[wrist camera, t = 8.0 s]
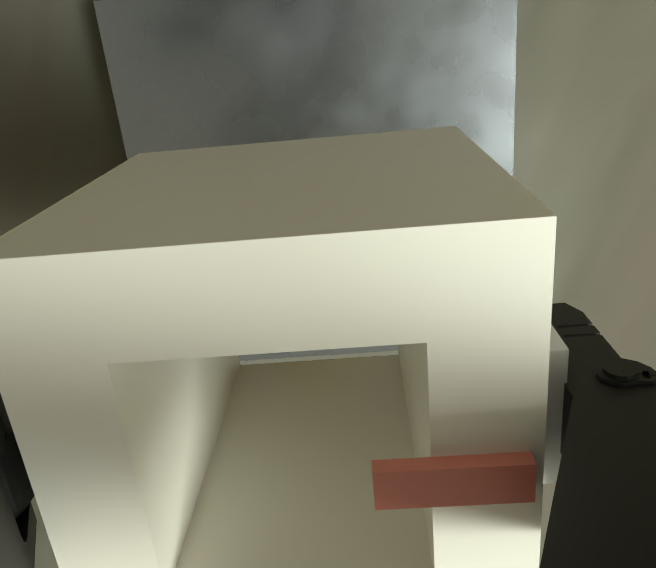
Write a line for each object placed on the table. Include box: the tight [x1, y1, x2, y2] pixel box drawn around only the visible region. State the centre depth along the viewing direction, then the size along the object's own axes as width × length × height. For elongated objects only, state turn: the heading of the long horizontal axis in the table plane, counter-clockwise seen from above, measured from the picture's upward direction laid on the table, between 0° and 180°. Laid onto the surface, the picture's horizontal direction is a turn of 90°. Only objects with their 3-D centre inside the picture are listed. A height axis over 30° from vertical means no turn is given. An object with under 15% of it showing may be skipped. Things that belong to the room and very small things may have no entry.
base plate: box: [93, 0, 517, 361], centre depth 22 cm, size 16×16×10 cm
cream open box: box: [0, 126, 557, 568], centre depth 13 cm, size 8×8×8 cm
